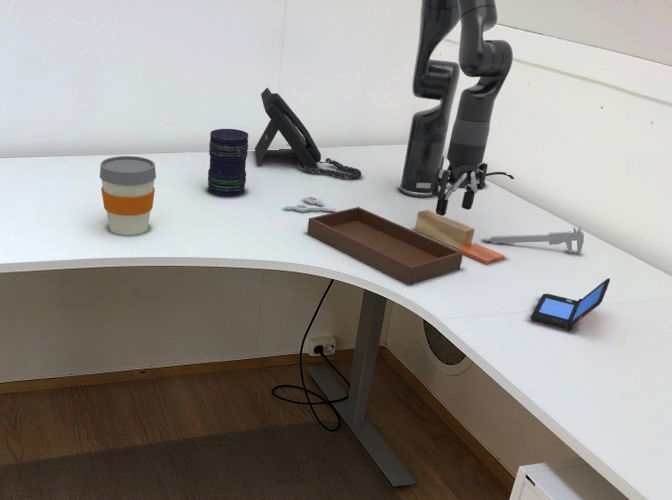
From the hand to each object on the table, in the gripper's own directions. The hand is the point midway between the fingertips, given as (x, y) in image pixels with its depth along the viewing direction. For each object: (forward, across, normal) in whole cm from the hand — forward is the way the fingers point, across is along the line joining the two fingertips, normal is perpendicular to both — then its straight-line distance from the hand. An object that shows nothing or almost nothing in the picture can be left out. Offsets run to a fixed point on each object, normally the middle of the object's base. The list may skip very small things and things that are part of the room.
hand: (453, 211), depth 178 cm
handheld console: (+8, -9, -37) cm, 39 cm away
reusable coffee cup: (+8, -60, +42) cm, 74 cm away
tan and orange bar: (+7, +1, -2) cm, 8 cm away
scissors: (+7, -11, +28) cm, 31 cm away
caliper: (+8, +15, -12) cm, 20 cm away
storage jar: (+7, -25, +53) cm, 59 cm away
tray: (+7, -18, +4) cm, 19 cm away
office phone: (+7, +10, +62) cm, 63 cm away
